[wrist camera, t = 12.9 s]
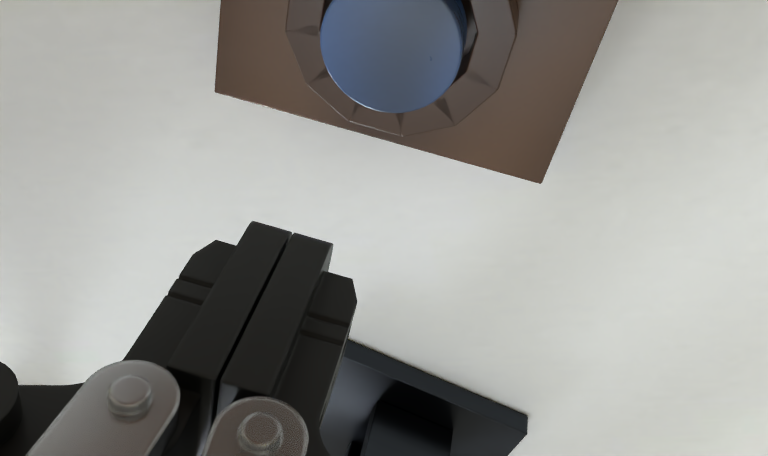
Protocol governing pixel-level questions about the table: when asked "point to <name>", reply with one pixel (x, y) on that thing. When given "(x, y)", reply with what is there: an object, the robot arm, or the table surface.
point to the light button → (393, 50)
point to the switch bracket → (411, 413)
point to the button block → (462, 99)
